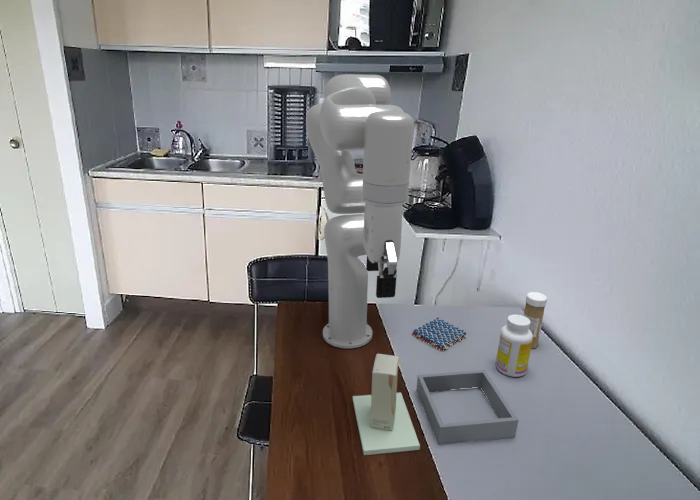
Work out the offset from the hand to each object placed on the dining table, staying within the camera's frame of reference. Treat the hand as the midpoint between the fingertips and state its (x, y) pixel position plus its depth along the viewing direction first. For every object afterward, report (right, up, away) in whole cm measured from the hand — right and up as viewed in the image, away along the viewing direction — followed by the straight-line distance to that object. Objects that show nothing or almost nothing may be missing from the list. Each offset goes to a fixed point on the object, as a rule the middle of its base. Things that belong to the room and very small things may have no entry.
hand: (379, 282), depth 79 cm
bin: (+17, -26, +8) cm, 32 cm away
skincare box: (+1, -26, +5) cm, 27 cm away
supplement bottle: (+31, -21, +21) cm, 43 cm away
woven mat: (+17, -17, +33) cm, 41 cm away
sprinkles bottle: (+39, -18, +30) cm, 52 cm away
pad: (+1, -27, +5) cm, 27 cm away
